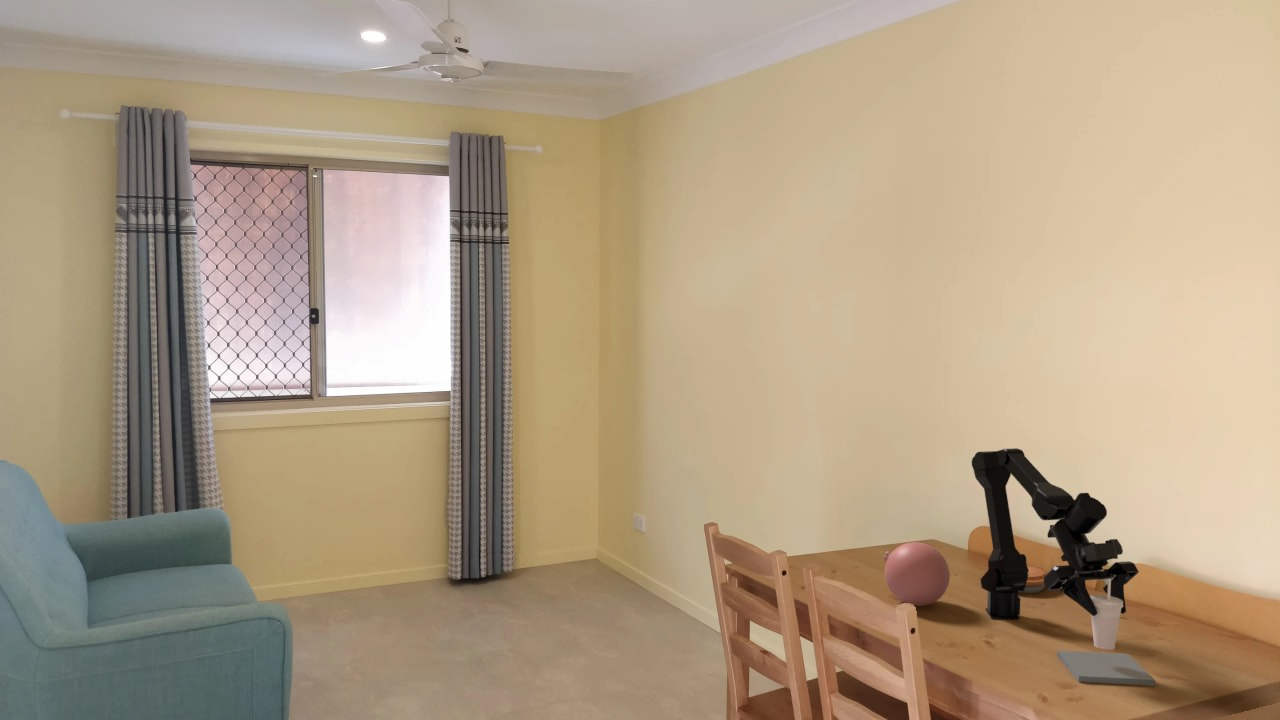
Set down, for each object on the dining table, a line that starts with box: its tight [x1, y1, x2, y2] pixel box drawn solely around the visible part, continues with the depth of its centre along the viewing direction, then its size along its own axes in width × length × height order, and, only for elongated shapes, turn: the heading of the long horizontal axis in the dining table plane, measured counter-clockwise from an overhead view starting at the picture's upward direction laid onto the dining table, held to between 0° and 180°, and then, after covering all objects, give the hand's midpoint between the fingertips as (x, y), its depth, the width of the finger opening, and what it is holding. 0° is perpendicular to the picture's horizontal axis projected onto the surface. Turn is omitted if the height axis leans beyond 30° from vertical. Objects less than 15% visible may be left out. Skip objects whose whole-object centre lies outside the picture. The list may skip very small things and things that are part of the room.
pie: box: [1018, 565, 1049, 594], centre depth 247 cm, size 16×16×5 cm
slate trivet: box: [1056, 649, 1156, 687], centre depth 190 cm, size 14×14×1 cm
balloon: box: [883, 541, 951, 607], centre depth 234 cm, size 15×20×15 cm
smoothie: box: [1090, 578, 1123, 651], centre depth 189 cm, size 6×6×14 cm
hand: (1109, 613), depth 188 cm, fingers closed on smoothie, 6 cm apart
